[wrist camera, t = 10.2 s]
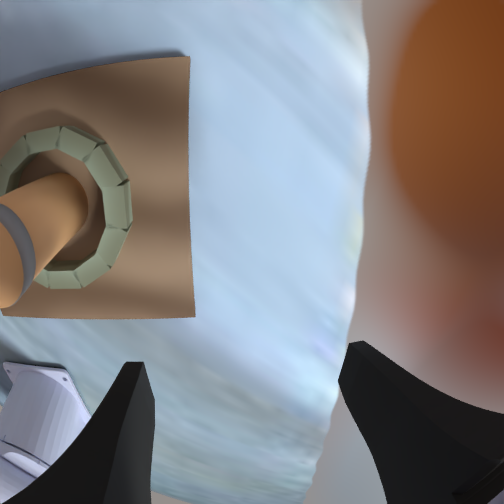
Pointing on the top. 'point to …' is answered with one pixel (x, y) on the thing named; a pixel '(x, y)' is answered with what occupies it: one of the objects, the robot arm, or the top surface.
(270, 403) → the top surface
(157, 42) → the top surface
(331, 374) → the top surface
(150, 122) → the dock socket
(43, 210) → the peg
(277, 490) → the top surface
